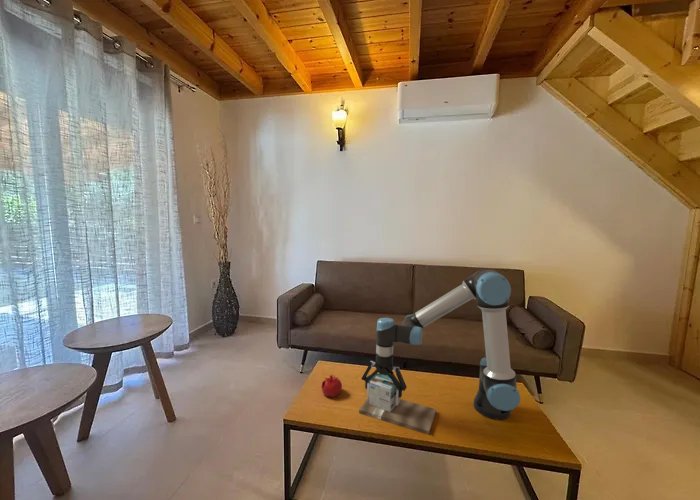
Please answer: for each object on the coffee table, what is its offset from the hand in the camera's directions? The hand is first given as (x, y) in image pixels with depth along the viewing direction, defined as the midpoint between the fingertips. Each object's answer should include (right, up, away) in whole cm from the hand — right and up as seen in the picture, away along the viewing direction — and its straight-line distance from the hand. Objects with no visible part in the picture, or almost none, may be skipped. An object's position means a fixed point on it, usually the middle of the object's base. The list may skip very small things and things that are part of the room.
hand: (382, 399), depth 137 cm
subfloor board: (+6, -4, -3) cm, 8 cm away
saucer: (0, -3, +20) cm, 20 cm away
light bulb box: (0, -3, 0) cm, 3 cm away
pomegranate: (-24, -3, +11) cm, 26 cm away
